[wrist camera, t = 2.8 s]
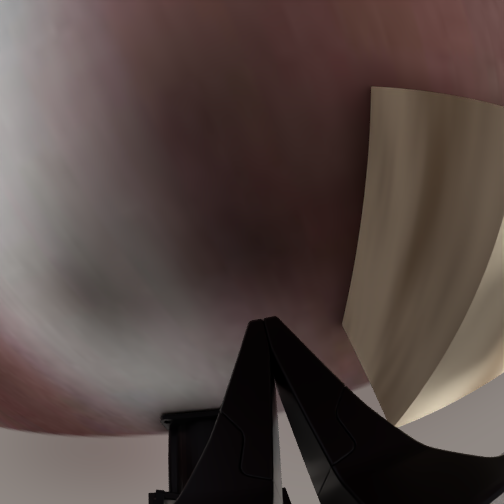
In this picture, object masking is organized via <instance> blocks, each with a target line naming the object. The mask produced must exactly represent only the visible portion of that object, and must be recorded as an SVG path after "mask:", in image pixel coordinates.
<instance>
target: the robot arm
mask: <svg viewBox="0 0 504 504" xmlns="http://www.w3.org/2000/svg"><path fill="white" fill-rule="evenodd" d="M274 379H275V380H274ZM275 383H276V387H277V390H278V393H279V395H280V398H281V401H282V404H283V406H284V409H285V412H286V414H287V417H288V420H289V422H290V425H291V428H292V431H293V433H294V436H295V438H296V441H297V444H298V447H299V449H300V452H301V454H302V457H303V460H304V462H305V465H306V468H307V470H308V473H309V475H310V478H311V480H312V483H313V485H314V488H315V491H316V493H317V496H318V498H319V501H320V503H321V504H504V453H502V454H501V455H500V456H497V457H482V456H475V455H469V454H463V453H457V452H451V451H446V450H441V449H437V448H432V447H429V446H426V445H424V444H422V443H420V442H418V441H416V440H414V439H413V438H411V437H410V436H408V435H407V434H405V433H404V432H403V431H401V430H400V429H398V428H397V427H396V426H394V425H393V424H391V423H390V422H388V421H387V420H386V419H384V418H383V417H381V416H380V415H379V414H377V413H376V412H375V411H374V410H372V409H371V408H370V407H368V406H367V405H366V404H365V403H364V402H363V401H362V400H360V399H359V398H358V397H357V396H356V395H355V394H354V393H353V392H352V391H351V390H350V389H349V388H348V387H347V386H345V385H344V383H342V382H341V381H340V380H339V379H338V378H337V377H336V376H335V375H334V374H333V373H332V372H331V371H330V370H329V369H328V368H327V367H326V366H325V365H324V364H323V363H322V362H321V361H320V360H319V359H318V358H317V357H316V356H315V355H314V354H313V353H312V352H311V351H310V350H309V349H308V348H307V347H306V346H305V345H304V344H303V343H302V342H301V341H300V340H299V339H298V338H297V337H296V336H295V334H294V333H293V332H292V331H291V330H290V329H289V328H288V327H287V326H286V325H285V324H284V323H283V322H282V321H281V320H280V319H279V318H278V317H276V316H273V317H268V318H264V320H262V319H257V320H252V321H250V322H249V323H248V326H247V329H246V332H245V335H244V339H243V342H242V345H241V348H240V351H239V354H238V357H237V360H236V363H235V366H234V369H233V372H232V375H231V378H230V382H229V385H228V388H227V391H226V394H225V397H224V400H223V403H222V406H221V409H220V410H214V411H205V412H195V413H184V414H170V415H162V416H161V421H160V422H161V423H162V424H163V425H164V427H165V428H166V429H167V430H168V431H169V453H168V456H169V457H168V464H169V492H165V491H164V490H156V493H149V504H291V502H290V499H289V497H288V494H287V491H286V488H282V481H281V464H280V446H279V431H278V415H277V401H276V388H275Z"/></svg>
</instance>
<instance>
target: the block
mask: <svg viewBox="0 0 504 504" xmlns="http://www.w3.org/2000/svg"><path fill="white" fill-rule="evenodd" d="M342 326H343V328H344V330H345V332H346V334H347V336H348V338H349V340H350V342H351V344H352V346H353V348H354V350H355V352H356V354H357V356H358V358H359V361H360V363H361V365H362V367H363V369H364V371H365V373H366V375H367V377H368V379H369V382H370V384H371V386H372V388H373V390H374V392H375V394H376V397H377V399H378V401H379V403H380V406H381V408H382V410H383V412H384V414H385V417H386V419H387V421H388V422H390V423H391V424H393V425H394V426H396V427H400V426H402V425H405V424H407V423H410V422H412V421H415V420H417V419H419V418H422V417H424V416H426V415H428V414H430V413H433V412H435V411H437V410H439V409H441V408H443V407H445V406H447V405H449V404H451V403H453V402H455V401H457V400H458V399H460V398H462V397H464V396H466V395H467V394H469V393H471V392H473V391H475V390H476V389H478V388H480V387H481V386H483V385H484V384H486V383H488V382H490V381H491V380H493V379H494V378H496V377H497V376H499V375H500V374H502V373H503V372H504V107H503V106H499V105H495V104H491V103H487V102H483V101H479V100H474V99H469V98H464V97H459V96H454V95H448V94H442V93H435V92H428V91H420V90H411V89H401V88H389V87H373V86H371V114H370V135H369V151H368V163H367V174H366V184H365V194H364V202H363V210H362V218H361V225H360V232H359V238H358V245H357V251H356V257H355V263H354V268H353V274H352V279H351V284H350V289H349V294H348V299H347V304H346V308H345V313H344V317H343V322H342Z"/></svg>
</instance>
